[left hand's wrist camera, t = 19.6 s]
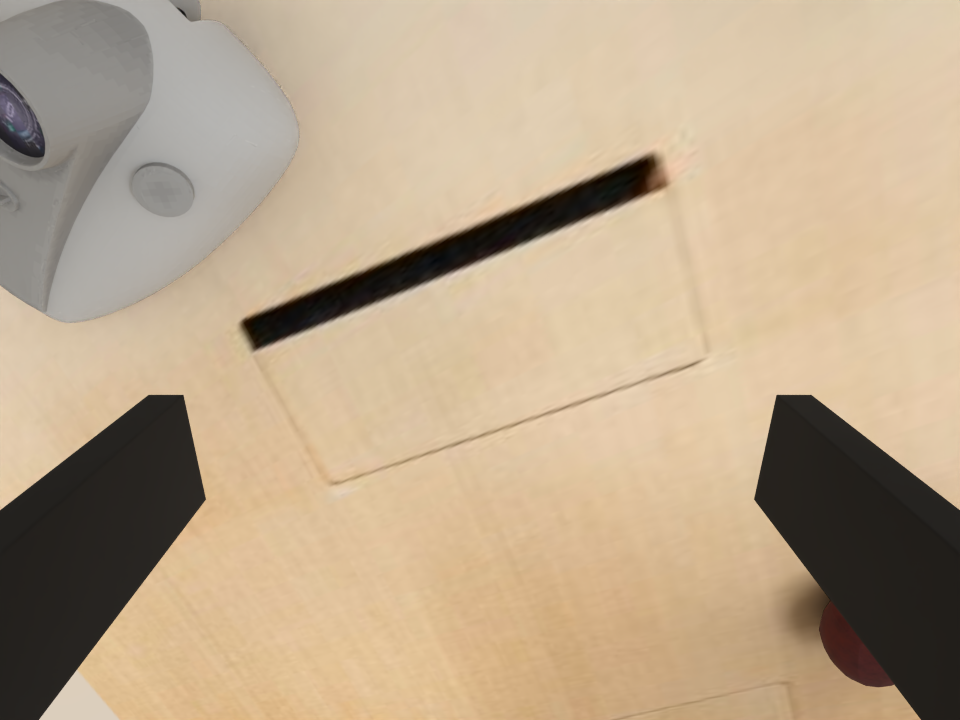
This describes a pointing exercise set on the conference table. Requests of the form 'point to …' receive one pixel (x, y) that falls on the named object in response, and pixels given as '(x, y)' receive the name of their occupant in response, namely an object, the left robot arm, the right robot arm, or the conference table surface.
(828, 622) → the maroon ball
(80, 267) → the projector
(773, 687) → the conference table surface
